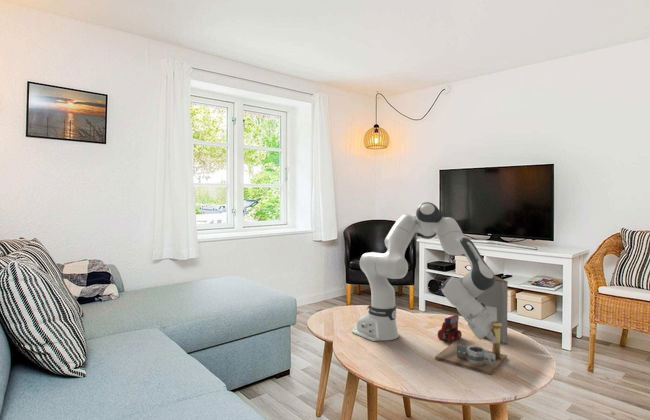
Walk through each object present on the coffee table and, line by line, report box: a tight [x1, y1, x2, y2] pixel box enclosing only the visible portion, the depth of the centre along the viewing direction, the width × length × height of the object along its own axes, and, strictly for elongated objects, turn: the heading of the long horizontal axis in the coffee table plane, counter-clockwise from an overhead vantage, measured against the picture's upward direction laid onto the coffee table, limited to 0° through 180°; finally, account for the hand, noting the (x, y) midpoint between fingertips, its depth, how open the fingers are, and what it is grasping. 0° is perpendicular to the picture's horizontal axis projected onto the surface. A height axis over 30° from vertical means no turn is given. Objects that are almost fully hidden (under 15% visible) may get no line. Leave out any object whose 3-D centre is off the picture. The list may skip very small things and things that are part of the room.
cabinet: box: [476, 274, 509, 345], centre depth 183 cm, size 21×10×28 cm, turn 0°
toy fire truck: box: [437, 314, 462, 343], centre depth 181 cm, size 7×12×10 cm, turn 128°
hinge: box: [457, 345, 496, 367], centre depth 153 cm, size 15×6×5 cm, turn 50°
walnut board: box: [434, 342, 508, 376], centre depth 159 cm, size 22×19×1 cm
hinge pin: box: [491, 321, 502, 359], centre depth 157 cm, size 4×4×14 cm
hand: (498, 340), depth 156 cm, fingers open, 3 cm apart
